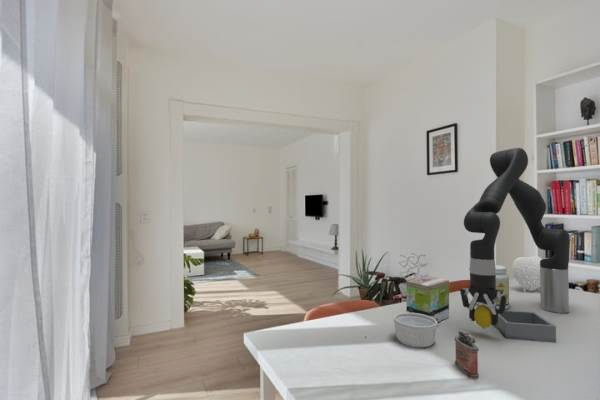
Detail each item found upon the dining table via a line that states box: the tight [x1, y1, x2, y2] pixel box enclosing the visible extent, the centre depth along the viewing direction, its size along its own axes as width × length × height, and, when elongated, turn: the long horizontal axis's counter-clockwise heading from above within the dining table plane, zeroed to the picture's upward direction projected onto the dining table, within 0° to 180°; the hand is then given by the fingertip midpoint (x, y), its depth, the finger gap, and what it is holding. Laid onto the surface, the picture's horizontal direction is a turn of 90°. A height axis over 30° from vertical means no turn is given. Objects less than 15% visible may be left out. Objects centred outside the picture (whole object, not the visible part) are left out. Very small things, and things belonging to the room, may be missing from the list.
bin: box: [492, 309, 557, 343], centre depth 112 cm, size 14×14×5 cm
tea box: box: [405, 276, 450, 323], centre depth 125 cm, size 15×10×15 cm, turn 131°
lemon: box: [474, 305, 492, 330], centre depth 109 cm, size 6×6×8 cm
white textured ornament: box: [511, 255, 543, 293], centre depth 164 cm, size 18×11×17 cm, turn 108°
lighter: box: [454, 329, 480, 379], centre depth 86 cm, size 8×3×10 cm, turn 5°
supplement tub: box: [476, 264, 510, 310], centre depth 140 cm, size 12×12×17 cm
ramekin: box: [393, 312, 438, 349], centre depth 105 cm, size 13×13×7 cm
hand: (483, 322), depth 109 cm, fingers closed on lemon, 5 cm apart
